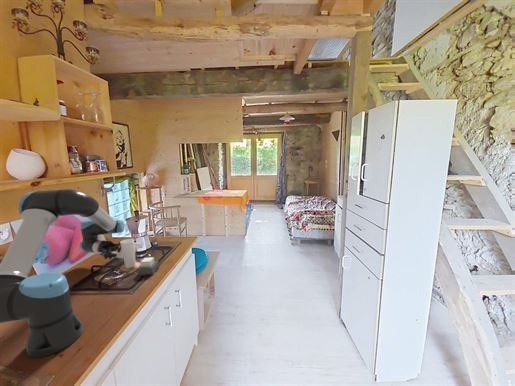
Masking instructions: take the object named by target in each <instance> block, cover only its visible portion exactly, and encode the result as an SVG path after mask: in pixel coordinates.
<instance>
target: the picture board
mask: <svg viewBox="0 0 515 386" xmlns="http://www.w3.org/2000/svg"><path fill="white" fill-rule="evenodd" d="M135 261H136V265H135V266H134V267H132V268H126V267H125V263H124V264H122V265H120V266H118V267H116V269H115V268H114V269H115V270H118V271H117V272H116V271H114V272H116V273H118V274H120V273H119V272H124V271H125V272H126V274H124V275H123V276H122V277H125V276H128V275H130V274H132V275H134V274H135V272H136V273H138V272H137V268H138V267H139V266H140V265H141V261H137V260H135ZM112 270H113V269H111V270H109V271H107V272H104V273H102V274H100V275H97V276H96V277H93V279H96V280H98V281H99V280H100V279H101V278H102V277H103V276H104V275H105V274H107V273H109V272H110V271H112ZM133 273H134V274H133ZM130 276H131V275H130ZM122 277H119V278H116V279H112V278H105V279H104V280H103V282H104V283H106V284H111V283H113V282H115V281H117V280H119V279H121V278H122ZM128 277H129V276H128ZM96 280H95V281H96ZM98 281H97V282H98ZM106 284H105V285H106ZM111 285H112V284H111Z"/></svg>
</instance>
